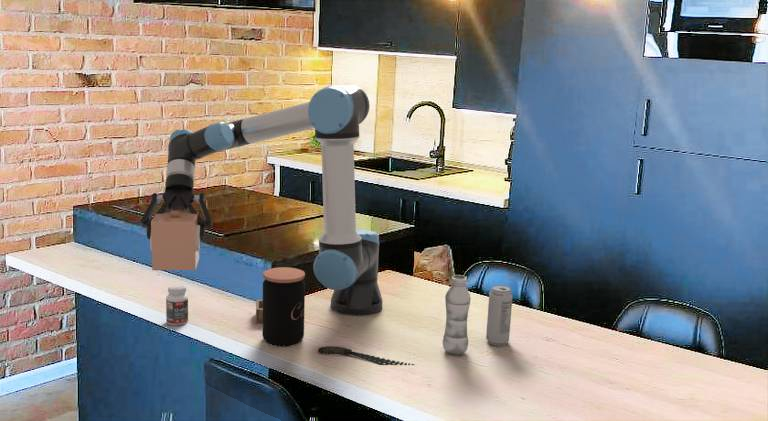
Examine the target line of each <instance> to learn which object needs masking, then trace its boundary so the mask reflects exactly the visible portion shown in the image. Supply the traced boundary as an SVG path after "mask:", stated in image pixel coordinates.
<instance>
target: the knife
mask: <svg viewBox="0 0 768 421" xmlns="http://www.w3.org/2000/svg"><path fill="white" fill-rule="evenodd" d="M317 351H318V353H319V354H320V355H321V354H322V355H338V356H346V357H350V356H352V357H355V358H358V359H360V360H363V361H366V362H369V363H372V364H374V365H378V366H398V365H399V366H407V365H408V366H415V364H414V363H410V362H409V363H407V362H405V363H404V362H403V361H402V362H400V361H398V360H397V361H396V360H393V359H392V360H391V359H389V358H388V359H386V358H384V357H382V358H381V357H379V356H377V357H376V356H375V355H371V354H365V353H362V352H358V351H353V350H352V349H351V348H347V347H343V346H334V345H327V346H321V347H318V349H317Z"/></svg>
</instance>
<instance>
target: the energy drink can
mask: <svg viewBox="0 0 768 421" xmlns="http://www.w3.org/2000/svg"><path fill="white" fill-rule="evenodd" d="M512 307H513V293H512V290H511V287H510V286H506V285H500V284H498V285H493V286H492V287H491V290H490V291H489V293H488V306H487V308H488V309H487V319H486V320H487V321H486V333H485V335H486V336H485V339H486V340H487V343H488V344H489V345H492V346H496V347H503V346H506V345H507V344H508V342H510V334H511V333H510V332H511V321H512V309H513V308H512Z"/></svg>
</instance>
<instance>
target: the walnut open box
mask: <svg viewBox="0 0 768 421" xmlns="http://www.w3.org/2000/svg"><path fill="white" fill-rule="evenodd" d="M255 324H263V299H256V300H255Z"/></svg>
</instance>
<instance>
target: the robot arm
mask: <svg viewBox="0 0 768 421" xmlns="http://www.w3.org/2000/svg"><path fill="white" fill-rule="evenodd" d="M369 112H370V101H369V97H368V95H367V93H366V92H365V91H364V90H363V89H362V88H361V87H360V86H358V85H354V84H352V83H351V84H349V83H346V84H345V83H344V84H341V85H340V84H338V85H328V86H326V87H324V88H321V89H319V90H317V91H316V92H315V93H314V94H313V95H312V97H311V99H310V100H309V101H306V102H304V103H300V104H296V105H292V106H289V107H285V108H279V109H277V110H276V109H275V110H273V111H272V110H271V111H269V112H265V113H261V114H257V115H253V116H248V117H246V118H242V119H238V120H233V121H230V122H224V121H218V122H216V123H210V124H209V125H207V126H205V127H203V128H201V129H199V130H196V131H191V129H190V130H189V129H188V128H187V129H185V128H183V129H179V128H178V129H175V130H174V131H173V132H172V133H171V134H170V137H169V142H168V146H167V148H168V149H167V150H168V151H167V154H168V155H167V165H166V174H165V176H166V179H165V184H164V185H165V187H164V193H162V194H157V193H156V192H153V193H152V195H151V201H150V203H149V205H148V206H147V208H146V210H145V212H144V214H143V216H142V217H141V220H140V223H141V227H142V228H146V238H147V240H149V249H150V252H152V242H151V221H152V219H153V217H154V216H155V214H162V213H164V212H171V210H180V211H185V210H186V212H190V213H192V214H198V213H197V212H198V211H197V210H196V209H195V208H194V206H193V204H192V203H194V202H195V201H196V203H197V204H199V208H200V210H201V213H202V216H203V218H204V219H203V218H202V217H201V216H200V214H198V220H197V221H198V225H197V236H196V251H199V252H200V249H201V247H200V246H201V240H204V239H205V234H206V233H205V232H206V231H205V230H206V229H208V228H210V229H211V228H212V227H213V222H212V219H211V216H210V214H209V211H208V208H207V205H206V203H205V201H206V200H205V194H204V193H201V192H200V193H199V194H194V186H195V185H194V184H195V181H194V180H195V170H196V168H195V166H196V161H197V160H201V159H203V158H205V157H208V156H210V155H213V154H215V153H220V152H223V151H227V150H232V149H235V148H240V147H245V146H247V145H250V144H255V143H259V142H263V141H268V140H273V139H276V138H280V137H284V136H288V135H293V134H296V133H301V132H305V131H308V130H313V129H314V140H316V141H317V142H318V143H319V144H320V146H321V148H320V149H321V174H322V180H321V181H322V202H323V203H322V204H323V205H322V208H323V231H324V232H323V233H322V234H321V235H320V236H319V237H318V254H317V255H316V257H315V259H314V262H313V265H312V266H313V273H314V275H315V277H316V279H317V281H318V282H319V283H320V284H321V285H322V286H324V287H325V288H327V289H328V290H333V292H332V294H331V298H330V308H331V309H332V310H333V311H334V312H336V313H338V314H343V315H349V316H369V315H374V314H376V313H379V312H380V311H382V309H383V303H384V302H383V297H382V294H381V293H382V292H381V290H380V287H379V283H378V274H379V272H378V271H379V252H380V251H379V250H380V240H379V239H380V235H379V234H378V233H377V232H376V231H373V230H367V229H359V228H358V229H357V227H356V226H357V224H356V223H357V220H356V219H357V218H356V189H355V185H356V182H355V180H356V179H355V145H354V144H355V143H356V142H357V140H358V139H359V138H360V124H361V123H363V122H364V121H365V120H366V118H367V117H368V115H369ZM161 201H163V203H162V205H161V206H160V207H159V209H158V210H157V211H156V212H157V213H156V212H155V210H156V209H157V207H158V204H160V203H161ZM154 213H155V214H154ZM153 214H154V215H153Z"/></svg>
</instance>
